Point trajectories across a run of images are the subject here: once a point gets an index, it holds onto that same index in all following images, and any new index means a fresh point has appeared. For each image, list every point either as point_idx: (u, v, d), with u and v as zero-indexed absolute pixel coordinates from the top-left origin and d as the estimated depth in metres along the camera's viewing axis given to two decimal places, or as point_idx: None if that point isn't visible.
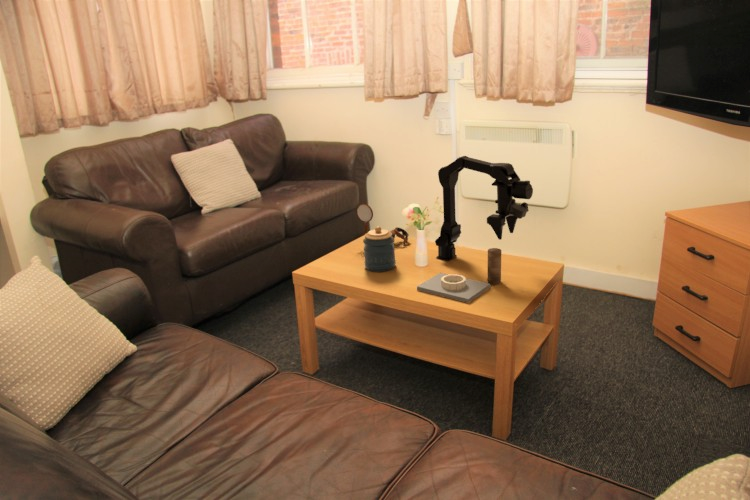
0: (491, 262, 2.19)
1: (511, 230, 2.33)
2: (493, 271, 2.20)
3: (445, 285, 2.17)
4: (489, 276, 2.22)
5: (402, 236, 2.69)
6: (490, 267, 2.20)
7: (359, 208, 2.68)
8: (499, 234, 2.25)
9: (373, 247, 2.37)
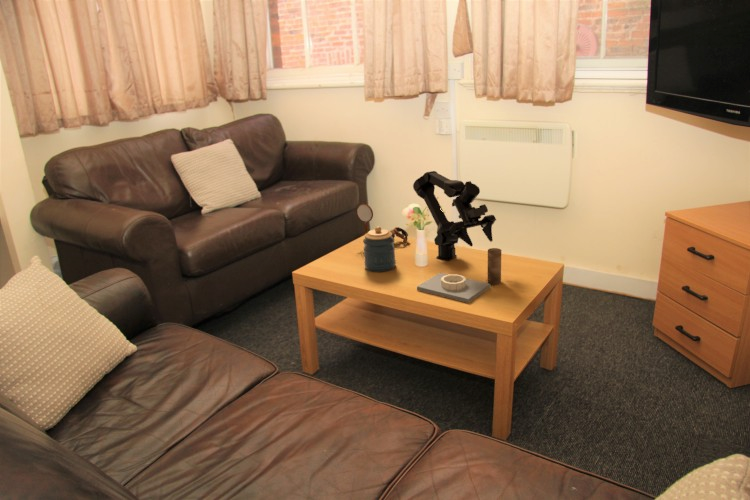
0: (491, 262, 2.19)
1: (490, 238, 2.28)
2: (493, 271, 2.20)
3: (445, 285, 2.17)
4: (489, 276, 2.22)
5: (402, 236, 2.69)
6: (490, 267, 2.20)
7: (359, 208, 2.68)
8: (468, 240, 2.25)
9: (373, 247, 2.37)
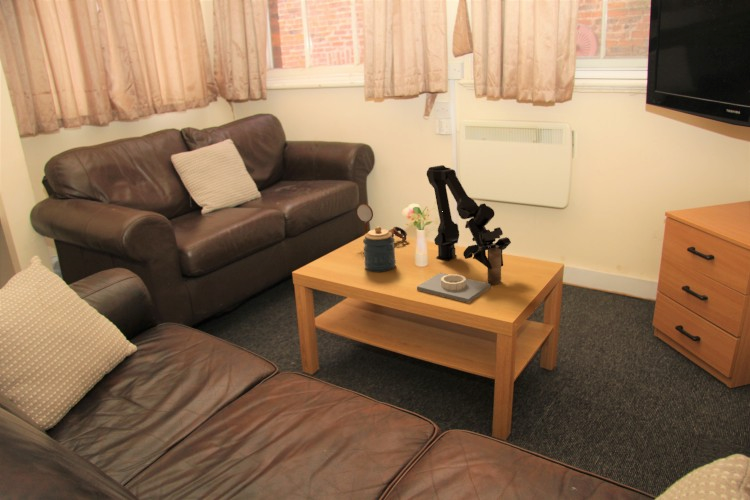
0: (491, 262, 2.19)
1: None
2: (493, 271, 2.20)
3: (445, 285, 2.17)
4: (489, 276, 2.22)
5: (401, 235, 2.70)
6: None
7: (359, 208, 2.68)
8: (486, 263, 2.20)
9: (373, 247, 2.37)
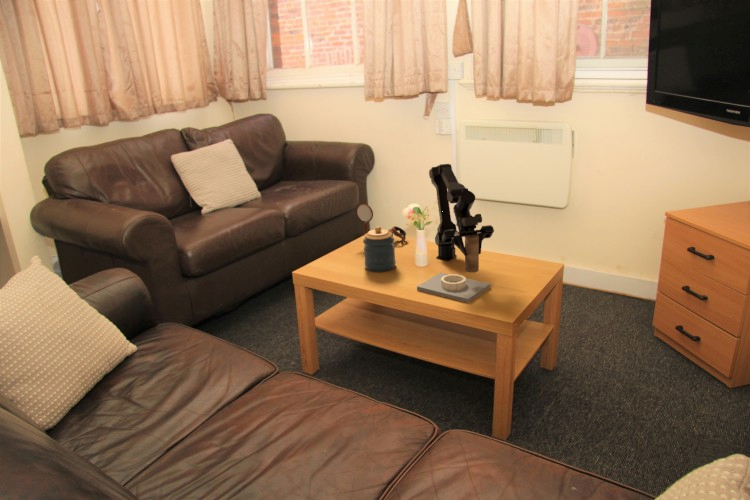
0: (467, 248, 2.14)
1: None
2: (468, 257, 2.15)
3: (445, 285, 2.17)
4: (465, 263, 2.17)
5: (400, 235, 2.71)
6: (466, 253, 2.15)
7: (359, 208, 2.68)
8: (462, 249, 2.15)
9: (373, 247, 2.37)
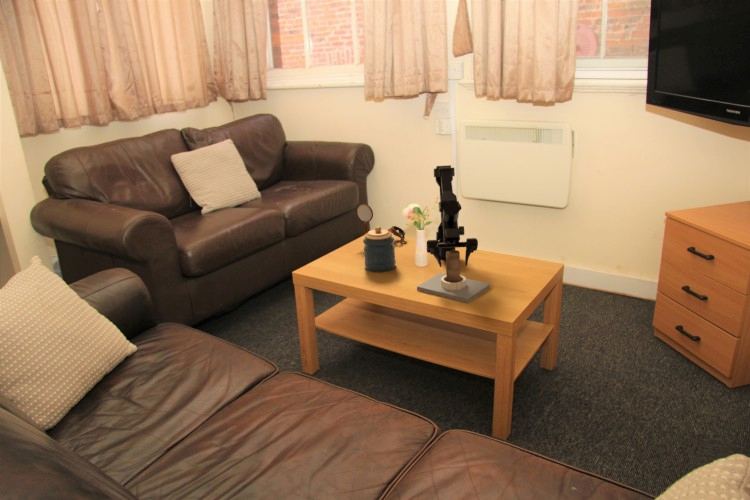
0: (447, 264, 2.16)
1: (465, 263, 2.16)
2: (448, 272, 2.17)
3: (445, 285, 2.17)
4: None
5: (399, 234, 2.71)
6: (446, 268, 2.17)
7: (359, 208, 2.68)
8: (438, 261, 2.17)
9: (373, 247, 2.37)
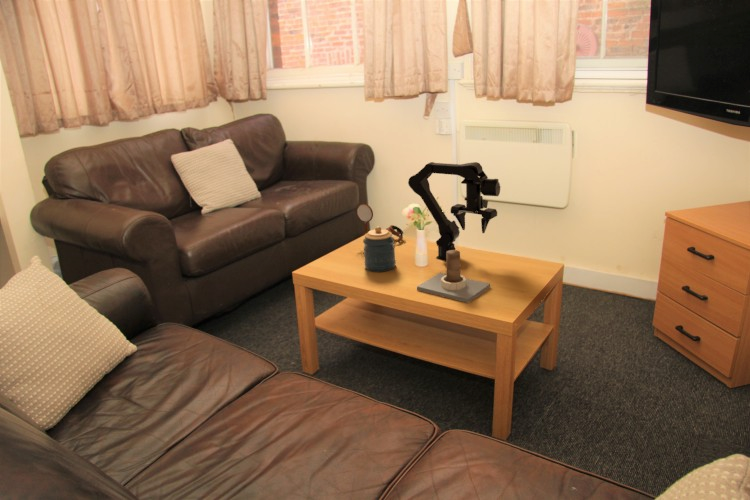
0: (447, 263, 2.16)
1: (464, 227, 2.44)
2: (449, 272, 2.17)
3: (445, 285, 2.17)
4: None
5: (397, 234, 2.73)
6: None
7: (359, 208, 2.68)
8: (485, 227, 2.38)
9: (373, 246, 2.37)
